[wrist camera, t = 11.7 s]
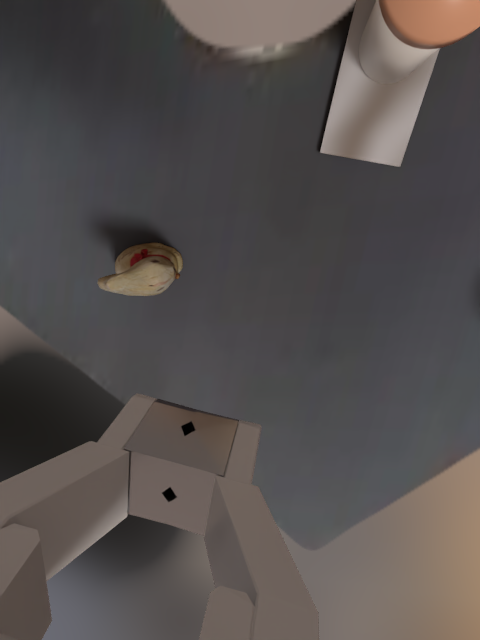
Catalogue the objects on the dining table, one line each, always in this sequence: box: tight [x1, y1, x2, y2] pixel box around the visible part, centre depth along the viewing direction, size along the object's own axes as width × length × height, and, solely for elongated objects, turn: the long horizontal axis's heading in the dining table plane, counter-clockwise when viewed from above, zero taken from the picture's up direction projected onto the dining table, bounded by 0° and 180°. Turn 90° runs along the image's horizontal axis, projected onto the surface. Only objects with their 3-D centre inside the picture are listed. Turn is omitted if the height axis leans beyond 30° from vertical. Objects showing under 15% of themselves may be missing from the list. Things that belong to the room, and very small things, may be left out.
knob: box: [359, 0, 480, 84], centre depth 21 cm, size 6×6×12 cm
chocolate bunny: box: [98, 243, 183, 297], centre depth 34 cm, size 6×8×10 cm
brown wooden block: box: [320, 0, 440, 167], centre depth 23 cm, size 16×19×8 cm
